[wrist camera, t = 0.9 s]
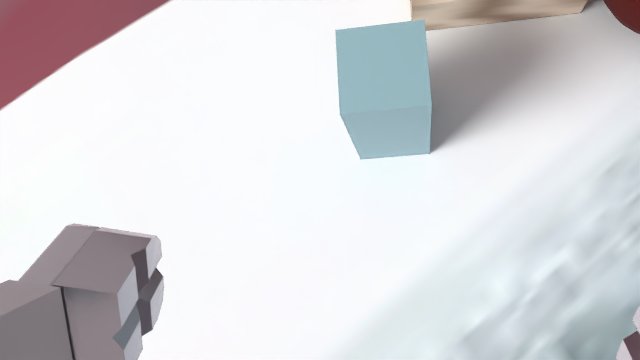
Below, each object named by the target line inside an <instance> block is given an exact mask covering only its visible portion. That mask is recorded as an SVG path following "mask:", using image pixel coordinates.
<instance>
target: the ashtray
mask: <svg viewBox="0 0 640 360" xmlns="http://www.w3.org/2000/svg"><path fill="white" fill-rule="evenodd" d="M604 2H605V4H606V5H607V7H608V8H609V9H610V11H611V12H612V13H613V15H614V16H615V17H616V18H617V19H618V20H619V21H620V22H621V23H622V24H623V25H624V26H626V27H628V28H629V29H631V30H633V31H634V32H636V33H638V34H640V0H604Z"/></svg>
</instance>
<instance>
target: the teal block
mask: <svg viewBox="0 0 640 360" xmlns="http://www.w3.org/2000/svg"><path fill="white" fill-rule="evenodd" d="M336 48H337V68H338V87H339V106H340V115H341V118H342V120H343V122H344V124H345V126H346V128H347V131H348V133H349V135H350V137H351V139H352V141H353V144H354V146H355V148H356V150H357V152H358V155H359V157H360V159H371V158H383V157H395V156H408V155H420V154H430V137H431V115H432V101H431V89H430V77H429V66H428V54H427V42H426V31H425V20H417V21H409V22H400V23H392V24H383V25H375V26H366V27H358V28H350V29H341V30H336Z"/></svg>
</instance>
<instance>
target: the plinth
mask: <svg viewBox="0 0 640 360" xmlns="http://www.w3.org/2000/svg"><path fill="white" fill-rule="evenodd" d="M587 1H588V0H410V3H411V16H412V21H417V20H425V31H427V30H435V29H444V28H453V27H461V26H470V25H479V24H487V23H496V22H505V21H513V20H522V19H530V18H539V17H548V16H556V15H565V14H574V13H581V11H582V10H583V8H584V6H585V4H586V2H587Z"/></svg>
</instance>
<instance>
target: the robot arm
mask: <svg viewBox="0 0 640 360" xmlns="http://www.w3.org/2000/svg"><path fill="white" fill-rule="evenodd" d="M161 257H162V251H161V241H160V239H159V238H158V237H157V236H154V235H148V234H141V233H135V232H128V231H122V230H116V229H109V228H103V227H102V228H99V227H95V226H88V225H81V224H71V225H68V226H66V227H65V228H64V229H63V230H62V231H61V232H60V234H59V235H58V236H57V237H56V238H55V239H54V240H53V242H52V243H51V244H50V245H49V246H48V247H47V248H46V250H45V251H44V252H43V253H42V254H41V255H40V256H39V258H38V259H37V260H36V261H35V262H34V263H33V264H32V266H31V267H30V268H29V269H28V270H27V271H26V272H25V274H24V275H23V276H22V277H21V278H20V279H19V280H18V281H13V280H8V281H5V282H3V283H1V284H0V360H137V359H138V357H139V355H140V353H141V351H142V349H143V348H142V336H143V335H144V334H146V333H148V332H149V331H151V330H152V329H153V327H154V325H155V323H156V321H157V319H158V316H159V312H160V309H161V305H162V301H163V291H164V282H163V276H162V274H161V273H160V272H159V271H158V270H157V268H156V266H157V264H158V262H159V261H160V259H161ZM632 320H633V322H634V325H635V327H636V329H637V331H636V332H634V333H633V334H631V335H629V336H628V337H626V338H625V339H623V341H622V343H621V345H620V348H619V350H618V353H617V357H616V360H640V307H639V308H638V309H637V311H636V313H635V315H634V317H633V319H632Z"/></svg>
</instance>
